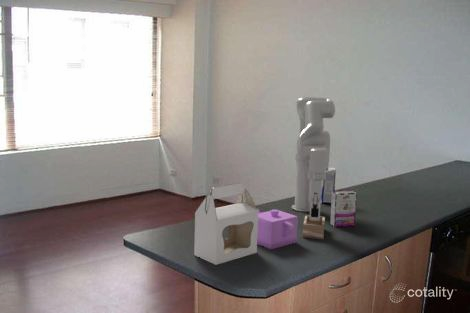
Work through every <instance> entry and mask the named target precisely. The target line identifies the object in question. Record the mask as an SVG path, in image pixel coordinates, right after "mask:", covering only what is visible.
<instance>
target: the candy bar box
mask: <svg viewBox="0 0 470 313" xmlns="http://www.w3.org/2000/svg"><path fill="white" fill-rule="evenodd" d="M357 198H358V193H357V192H356V191H354V190H343V191H342V190H341V191H339V190H338V191H335V192H332V200H331V204H330V205H331V206H330V220H329V221H330V222H329V223H330V226H332V225H333V227H334V228H337V226H338V228H341V227H340V226H343V227H354V226H356V215H357Z"/></svg>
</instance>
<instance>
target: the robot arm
mask: <svg viewBox="0 0 470 313" xmlns="http://www.w3.org/2000/svg"><path fill="white" fill-rule="evenodd" d="M296 112H297V114H298V118H299V135H298V136H297V139H296V140H297V141H296V154H295V168H296V174H295V175H296V176H295V191H294V192H295V194H294V195H295V196H294V204H292V205H291V209H292V210H293V209H294V211H297V212H303V213H305V212H306V213H307V212H308V213H310V202H311V201H312V208H311V217H318V212H319V209H318V203H319V202H320V199H321V194H322V183H323V180H325V179H326V168H329V165H330V164H329V163H330V153H331V152H330V151H331V136H330V133H329V131H328V130H324V119H333V118H334V117H335V114H336V106H335V104H334V101H333V100H332V99H331V98H329V97H316V96H315V97H314V96H311V97H310V96H306V97H305V96H304V97H299V98H298V99H297V100H296ZM313 200H314V201H313ZM317 200H318V202H317Z"/></svg>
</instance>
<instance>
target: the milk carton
mask: <svg viewBox="0 0 470 313" xmlns="http://www.w3.org/2000/svg"><path fill="white" fill-rule="evenodd" d="M336 173H337V169H336V168H335V167H332V166H331V167H327V168H326V179H325V180H323V183H322V194H321V203H329V204H328V205H331V200H332V192H336V191H335V188H336V177H337V176H336V175H337V174H336Z"/></svg>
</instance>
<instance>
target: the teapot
mask: <svg viewBox="0 0 470 313" xmlns="http://www.w3.org/2000/svg"><path fill="white" fill-rule="evenodd" d="M257 209H258V234H257V245H259V246H261V247H263V246H264V248H265V249H269V250H274V249H278V248H281V247H286V246H289V244H290V245H293V244H296V243H297V241H298V240H297V239H298V238H297V237H298V225H299V224H298V222H299V220H298V218H299V216H298V215H295V214H292V213H288V212H285V211H282V210H280V209H279V210H278V209H271V210H268V211H264V212H261V211H260V209H259V208H257ZM292 243H293V244H292Z"/></svg>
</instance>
